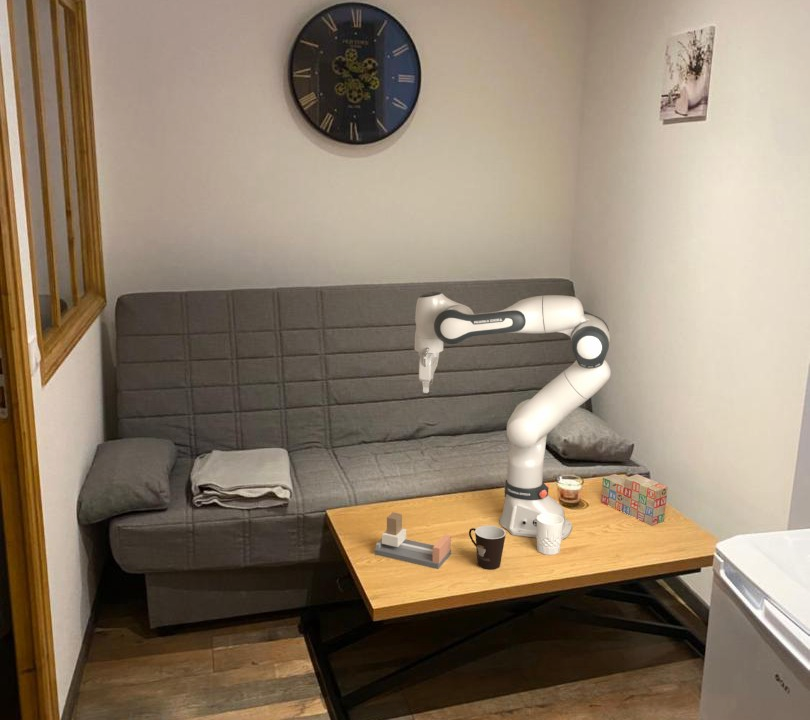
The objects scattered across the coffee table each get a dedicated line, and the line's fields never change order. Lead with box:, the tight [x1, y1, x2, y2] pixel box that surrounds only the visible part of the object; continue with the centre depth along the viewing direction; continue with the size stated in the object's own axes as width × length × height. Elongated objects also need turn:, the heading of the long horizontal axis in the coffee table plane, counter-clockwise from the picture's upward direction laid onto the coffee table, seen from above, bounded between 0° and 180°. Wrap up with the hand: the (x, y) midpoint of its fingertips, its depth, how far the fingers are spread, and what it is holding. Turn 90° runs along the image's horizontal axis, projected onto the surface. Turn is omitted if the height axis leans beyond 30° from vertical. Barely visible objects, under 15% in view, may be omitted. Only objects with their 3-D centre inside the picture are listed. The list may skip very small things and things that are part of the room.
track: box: [373, 534, 452, 570], centre depth 237 cm, size 20×10×6 cm, turn 66°
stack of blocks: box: [601, 473, 668, 527], centre depth 267 cm, size 21×6×12 cm, turn 35°
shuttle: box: [381, 511, 407, 547], centre depth 238 cm, size 5×6×8 cm
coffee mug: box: [468, 524, 507, 571], centre depth 232 cm, size 12×9×10 cm
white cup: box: [536, 513, 564, 556], centre depth 240 cm, size 8×8×10 cm
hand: (427, 388), depth 254 cm, fingers open, 8 cm apart
